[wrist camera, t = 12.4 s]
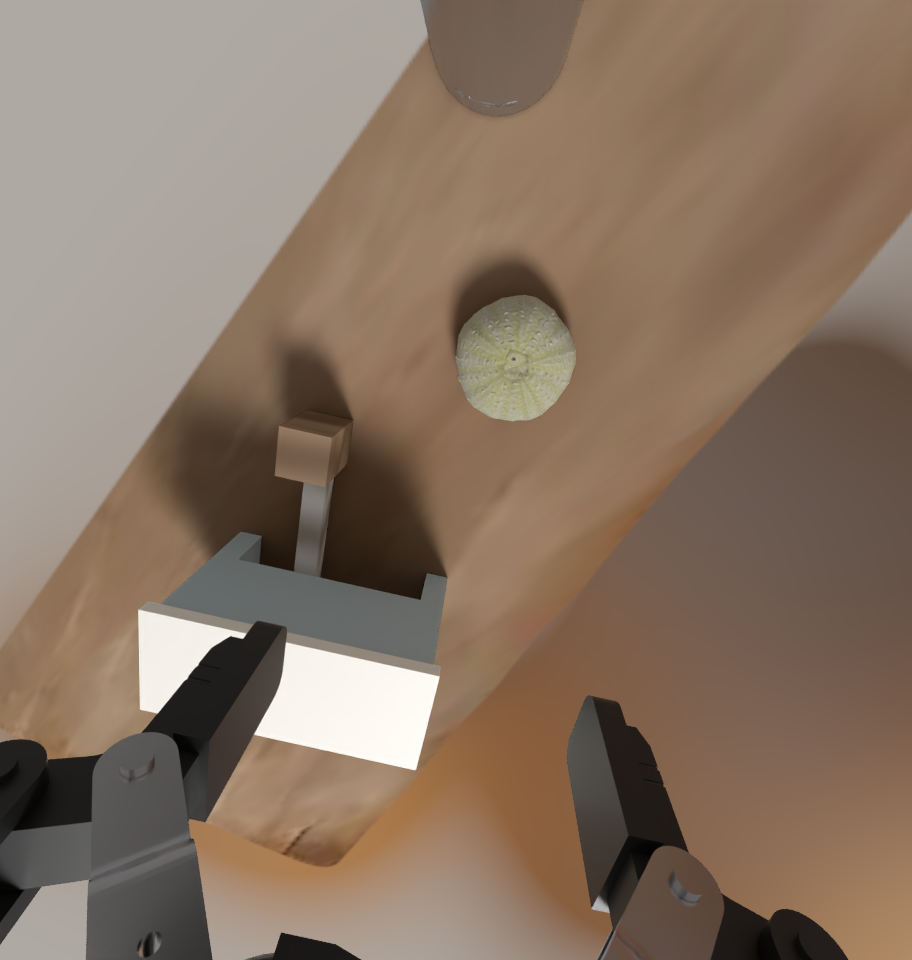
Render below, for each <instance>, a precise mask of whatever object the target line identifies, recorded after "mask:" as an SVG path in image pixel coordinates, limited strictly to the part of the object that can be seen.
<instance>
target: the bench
mask: <svg viewBox="0 0 912 960" xmlns="http://www.w3.org/2000/svg"><path fill="white" fill-rule="evenodd" d="M261 539H262V536H259V535H255V534H250V533H246V532H240V533H239V534H238V535H237V536H235V537H234V538H233V539H232V540H231V541H230V542H229V543H228V544H227V545H225V546H224V547H223V548H222V549H221V550H220V551H219V552H218V553H217V554H215V555H214V556H213V557H212V558H211V559H210V560H209V561H208V562H207V563H205V564H204V565H203V566H202V567H201V568H200V569H199V570H198V571H197V572H195V573H194V574H193V575H192V576H191V577H190V578H189V579H188V580H187V581H185V582H184V583H183V584H182V585H181V586H180V587H179V588H178V589H177V590H175V591H174V592H173V593H172V594H171V595H170V596H169V597H168V598H167V599H165V600H164V601H163V602H162V603H161V604H158V603H154V602H149V601H148V602H147V603H146V604H144V605H143V606H142V607H141V608H140V609H139V673H140V710H145V711H149V712H154V713H158V712H159V711H160V710H161V709H162V708H163V706H164V705H165V704H166V703H167V701H168V700H169V699H170V698H171V697H172V695H173V694H174V693H175V692H176V690H177V689H178V688H179V687H180V686H181V684H182V683H183V682H184V681H185V680H187V678H188V676H189V675H190V673H191V672H192V671H193V670H194V668H195V667H197V666H198V664H199V662H200V661H201V660H202V659H203V657H204V656H205V655H206V654H207V653H208V651H209V650H210V649H211V648H212V647H213V646H215V645H217V644H218V643H220V642H222V641H223V640H225V639H226V638H228V637H230V636H232V637H237V638H241V639H243V638H244V637H245V635H246V634H247V633H248V631H249V630H250V629H251V627H252V626H253V625H254V623H255V622H256V621H263V622H267V623H272V624H276V625H281V626H285V627H286V628H287V638H286V647H285V655H284V664H283V672H282V678H281V681H280V685H279V688H278V690H277V693H276V695H275V697H274V699H273V701H272V703H271V704H270V706H269V708H268V710H267V712H266V713H265V715H264V717H263V719H262V721H261V723H260V724H259V726H258V728H257V730H256V732H255V733H254V735H258V736H263V737H267V738H272V739H276V740H281V741H285V742H290V743H294V744H299V745H303V746H308V747H313V748H317V749H322V750H326V751H331V752H335V753H340V754H344V755H349V756H353V757H358V758H362V759H367V760H372V761H376V762H381V763H385V764H390V765H394V766H399V767H403V768H408V769H412V770H416V767H417V763H418V760H419V756H420V752H421V748H422V744H423V740H424V736H425V732H426V728H427V724H428V720H429V716H430V713H431V709H432V705H433V701H434V697H435V693H436V689H437V685H438V681H439V677H440V671H441V666H437V665H434V660H435V653H436V647H437V641H438V634H439V628H440V622H441V616H442V609H443V603H444V597H445V591H446V584H447V578H446V577H442V576H438V575H433V574H429V573H427V575H426V579H425V583H424V588H423V592H422V596H421V600H418V599H414V598H409V597H405V596H400V595H396V594H391V593H387V592H382V591H378V590H373V589H369V588H364V587H360V586H355V585H351V584H346V583H342V582H338V581H333V580H329V579H324V578H320V577H315V576H311V575H306V574H302V573H297V572H293V571H288V570H284V569H279V568H275V567H270V566H266V565H261V564H259V563H260V551H261Z"/></svg>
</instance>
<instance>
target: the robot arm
mask: <svg viewBox="0 0 912 960" xmlns="http://www.w3.org/2000/svg"><path fill="white" fill-rule="evenodd" d="M583 2H584V0H421V4H422V8H423V13H424V17H425V23H426V27H427V32H428V36H429V40H430V45H431V49H432V53H433V58H434V61H435V64H436V67H437V70H438V72H439V75H440V77H441V79H442V81H443V82H444V84H445V86H446V87H447V89H448V91H449V92H450V93H451V94H452V95H453V96H454V97H455V98H456V99H457V100H458V101H459V102H460V103H461V104H463V105H464V106H466V107H467V108H469V109H470V110H472V111H475V112H478V113H480V114H483V115H490V116H504V115H511V114H514V113H517V112H519V111H522V110H524V109H527V108H528V107H529V106H531V105H532V104H534V103H535V102H537V101H538V100H539V99H540V98H541V97H542V96H543V95H544V94H545V93H546V92H547V91H548V90H549V89H550V88H551V86H552V84H553V83H554V81H555V80H556V78H557V77H558V75H559V74H560V71H561V69H562V66H563V64H564V62H565V59H566V57H567V54H568V50H569V47H570V44H571V40H572V37H573V34H574V31H575V28H576V25H577V22H578V18H579V15H580V12H581V8H582V5H583ZM286 638H287V628H286V627H285V626H281V625H276V624H272V623H267V622H263V621H256V622H255V623H254V625H253V626H252V627H251V629H250V630H249V631H248V633H247V634H246V635H245V637H244V638H243V639H241V638H237V637H232V636H230V637H228V638H226V639H225V640H223V641H222V642H220V643H218V644H217V645H215V646H213V647H212V648H211V649H210V650H209V651H208V653H207V654H206V655H205V656H204V657H203V659H202V660H201V661H200V662H199V664H198V666H197V667H195V668H194V670H193V671H192V672H191V673H190V675H189V676H188V678H187V680H185V681H184V682H183V683H182V684H181V686H180V687H179V688H178V689H177V690H176V692H175V693H174V694H173V695H172V697H171V698H170V699H169V700H168V701H167V703H166V704H165V705H164V706H163V708H162V709H161V710H160V711H159V712H158V714H157V715H156V716H155V717H154V719H153V720H152V721H151V722H150V723H149V725H148V726H147V727H146V728H145V729H144V730H143V732H142V733H140V734H135V735H132V736H129V737H127V738H125V739H122V740H120V741H119V742H117V743H115V744H114V745H113V746H111V747H110V748H109V749H108V750H107V751H105V752H104V753H103V754H100V755H95V756H88V757H75V758H63V759H50V760H47V754H46V750H45V749H44V747H43V746H42V745H41V744H39V743H37V742H35V741H31V740H23V739H20V740H10V741H4V742H1V743H0V944H1V943H2V941H3V940H4V939H5V937H6V936H7V934H8V933H9V931H10V930H11V929H12V927H13V926H14V925H15V923H16V922H17V920H18V919H19V918H20V916H21V914H22V913H23V912H24V910H25V909H26V908H27V906H28V905H29V903H30V902H31V901H32V899H33V898H34V897H35V895H36V894H37V892H38V891H39V889H40V888H41V887H42V886H49V885H55V884H61V883H69V882H76V881H82V880H89V879H90V880H89V883H88V902H87V942H86V943H87V944H86V960H212V953H211V947H210V940H209V933H208V926H207V919H206V912H205V906H204V898H203V892H202V885H201V878H200V871H199V864H198V857H197V851H196V846H195V842H194V839H191V836H190V831H189V824H188V821H189V819H193V820H197V821H202V822H206V820H207V818H208V816H209V815H210V813H211V811H212V809H213V807H214V806H215V804H216V802H217V800H218V798H219V797H220V795H221V793H222V791H223V789H224V788H225V786H226V784H227V782H228V780H229V779H230V777H231V775H232V773H233V771H234V770H235V768H236V766H237V764H238V762H239V760H240V759H241V757H242V755H243V753H244V751H245V750H246V748H247V746H248V744H249V742H250V741H251V739H252V737H253V735H254V733H255V732H256V730H257V728H258V726H259V724H260V723H261V721H262V719H263V717H264V715H265V713H266V712H267V710H268V708H269V706H270V704H271V703H272V701H273V699H274V697H275V695H276V693H277V690H278V688H279V685H280V681H281V678H282V672H283V664H284V655H285V647H286ZM567 764H568V770H569V776H570V782H571V788H572V794H573V800H574V806H575V812H576V818H577V824H578V830H579V836H580V842H581V848H582V854H583V860H584V866H585V872H586V878H587V884H588V890H589V896H590V901H591V907H592V909H594V910H599V911H603V912H608V913H610V917H611V922H612V927H613V929H612V931H611V932H610V934H609V936H608V938H607V940H606V943H605V945H604V947H603V949H602V951H601V953H600V955H599V957H598V959H597V960H848V958H847V957H846V955H845V954H844V952H843V951H842V949H841V948H840V947H839V945H838V944H837V943H836V942H835V940H833V938H832V937H831V936H830V935H829V934H828V933H827V932H826V931H825V930H824V929H823V928H822V927H820V926H819V925H818V924H817V923H815V922H814V921H813V920H811V919H810V918H808V917H806V916H805V915H803V914H801V913H799V912H796V911H794V910H789V909H781V910H778V911H776V912H775V913H774V914H773V915H772V917H771V918H770V920H767V919H765V918H763V917H761V916H760V915H757V914H756V913H754V912H752V911H751V910H749V909H747V908H745V907H743V906H742V905H740V904H738V903H736V902H734V901H733V900H731V899H729V898H728V897H726V896H725V895H723V894H722V893H721V891H720V889H719V887H718V884H717V882H716V881H715V879H714V878H713V876H712V875H711V873H710V872H709V871H708V869H707V868H706V867H705V866H704V865H703V864H702V863H701V862H700V861H699V860H698V859H697V858H695V857H694V856H693V855H691V854H690V853H689V852H688V850H687V846H686V844H685V841H684V838H683V836H682V833H681V830H680V827H679V824H678V822H677V819H676V816H675V813H674V811H673V808H672V805H671V802H670V799H669V797H668V794H667V791H666V788H665V787H663V780H662V777H661V775H660V772H659V771H658V770H657V767H658V766H657V764H656V761H655V758H654V756H653V753H652V750H651V747H650V745H649V744H648V743H647V741H646V740H645V739H644V737H643V736H642V735H641V733H640V732H639V731H638V729H637V728H636V727H631V726H627V725H626V723H625V719H624V716H623V713H622V710H621V707H620V705H619V703H618V702H616V701H612V700H608V699H603V698H599V697H594V696H587V697H586V699H585V700H584V703H583V705H582V708H581V710H580V713H579V716H578V718H577V720H576V723H575V725H574V728H573V731H572V733H571V736H570V738H569V743H568V749H567ZM246 960H361V959H359V958H357V957H356V956H354V955H352V954H351V953H349V952H347V951H346V950H344V949H342V948H341V947H339V946H337V945H336V944H331V943H327V942H322V941H317V940H313V939H308V938H304V937H299V936H294V935H290V934H285V933H281V935H280V938H279V941H278V944H277V947H276V950H275V953H271V954H263V955H259V956H256V957H252V958H249V959H246Z"/></svg>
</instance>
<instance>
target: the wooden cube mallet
mask: <svg viewBox="0 0 912 960" xmlns="http://www.w3.org/2000/svg"><path fill="white" fill-rule="evenodd" d="M352 427H353V420H351V419H346V418H342V417H337V416H333V415H329V414H324V413H320V412H315V411H311V410H306V411H305V412H303V413H301V414H299V415H298V416H296V417H294V418H292V419H290V420H289V421H287V422H285V423H283V424H282V425H280V426H279V431H278V442H277V453H276V465H275V476H278V477H282V478H287V479H291V480H296V481H300V482H304V485H303V494H302V503H301V512H300V521H299V530H298V539H297V548H296V557H295V566H294V572H297V573H302V574H306V575H311V576H315V577H320V578H321V571H322V563H323V556H324V548H325V541H326V534H327V526H328V519H329V511H330V504H331V496H332V489H333V481H334V477H335V476H336V475H337V474H338V473H339V472H340V471H341V470H342V469H343V468H344V467H345V465H346V464H347V462H348V455H349V448H350V441H351V434H352Z"/></svg>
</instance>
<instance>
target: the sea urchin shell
mask: <svg viewBox="0 0 912 960" xmlns="http://www.w3.org/2000/svg"><path fill="white" fill-rule="evenodd" d="M455 358H456V363H457V367H458V377H459V379H458V380H459V381H460V383H461V386H462V388H463V391H464V393H465V395H466V399H467V400H468V401H469V402H470V403H471V404H472V405H473V407H474V408H476V409H478V410H479V411H481V412H483V413H485V414H486V415H488V416H489V417H492V418H495V419H502V420H506V421H507V420H510V421H512V422H513V421H515V420H531V419H533V418H536V417H538V416H539V415H542V414H543V413H544V412H545V411H546V410H547V409H548V408H549V407H550V406H551V405H553V404H554V403H556V402H557V399H558V398H559V396H560V395H561V393H562V392H563V391H564V389H565V388H566V386H567V384H569V383H570V378H571V375H572V371H573V369H574V366H575V363H576V348H575V345H574V342H573V340H572V337H571V335H570V333H569V329H568V328H567V327H566V326H565V324H564V323H563V322H562V321H561V319H560V318H559V317H558V315H557V314H556V312H555V310H554V309H552V308H551V307H549V306H548V305H546V304H545V303H544V302H542V301H541V300H540V299H538V298H537V297H533V296H527V295H525V294H524V295H517V296H512V297H506V298H504V297H502V298H501V299H499V300H497V301H496V302H494V303H492V304H490V305H488V306H485V307H483V308H482V309H480V310H479V311H478V312H477V313H475V314H473V316H472V317H471V318H470V319H469V320H468V321H467V322H466V323H465V324H464V326H463V328H462V329H461V331H460V334H459V335H458V343H457V351H456V356H455Z"/></svg>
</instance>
